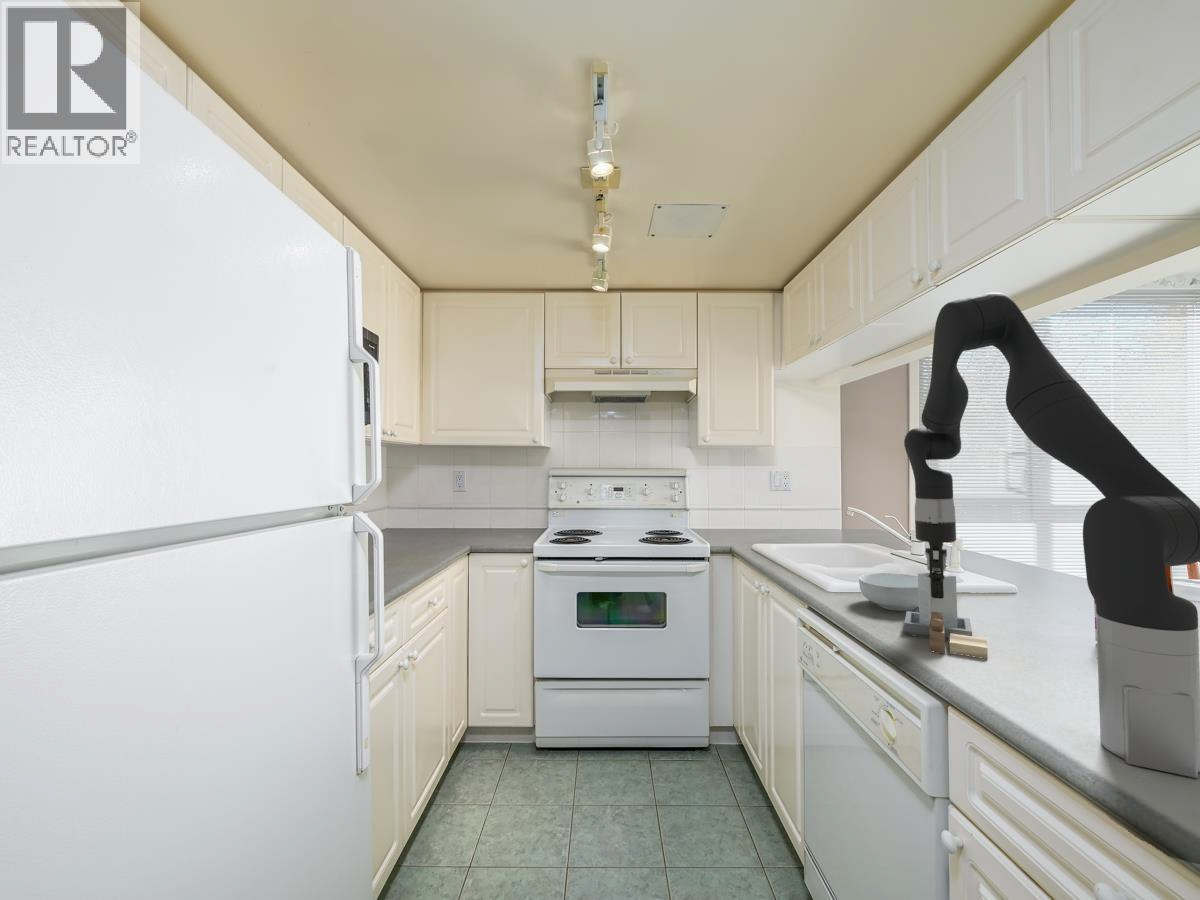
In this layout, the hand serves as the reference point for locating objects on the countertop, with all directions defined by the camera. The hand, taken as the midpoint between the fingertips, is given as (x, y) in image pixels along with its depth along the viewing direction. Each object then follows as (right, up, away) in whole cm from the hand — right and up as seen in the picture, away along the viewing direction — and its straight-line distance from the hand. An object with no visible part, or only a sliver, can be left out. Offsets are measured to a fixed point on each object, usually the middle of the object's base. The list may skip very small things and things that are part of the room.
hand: (937, 593), depth 117 cm
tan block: (-1, -9, -11) cm, 14 cm away
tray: (0, -8, 0) cm, 8 cm away
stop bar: (-5, -8, -8) cm, 13 cm away
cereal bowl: (+2, -9, +20) cm, 22 cm away
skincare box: (0, -8, 0) cm, 8 cm away
